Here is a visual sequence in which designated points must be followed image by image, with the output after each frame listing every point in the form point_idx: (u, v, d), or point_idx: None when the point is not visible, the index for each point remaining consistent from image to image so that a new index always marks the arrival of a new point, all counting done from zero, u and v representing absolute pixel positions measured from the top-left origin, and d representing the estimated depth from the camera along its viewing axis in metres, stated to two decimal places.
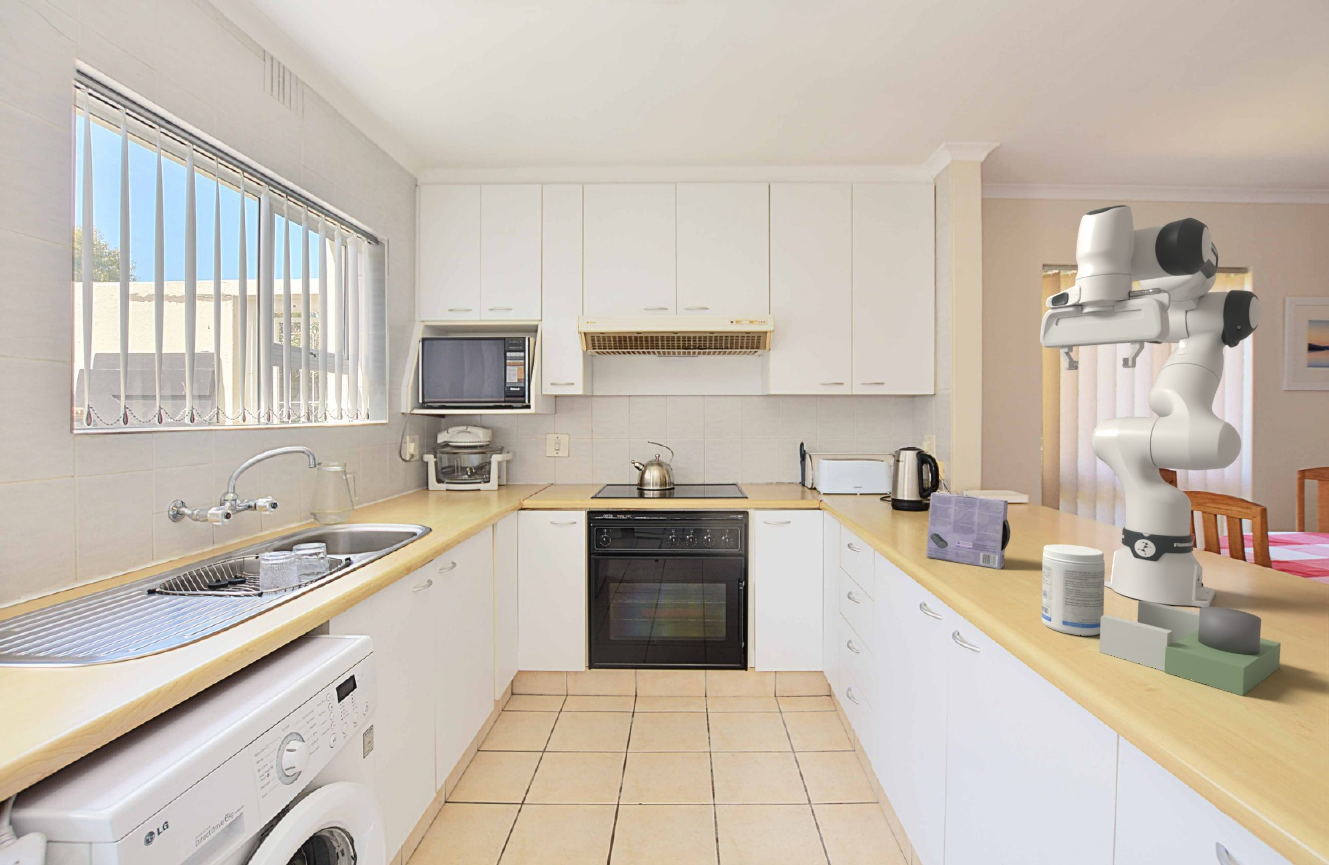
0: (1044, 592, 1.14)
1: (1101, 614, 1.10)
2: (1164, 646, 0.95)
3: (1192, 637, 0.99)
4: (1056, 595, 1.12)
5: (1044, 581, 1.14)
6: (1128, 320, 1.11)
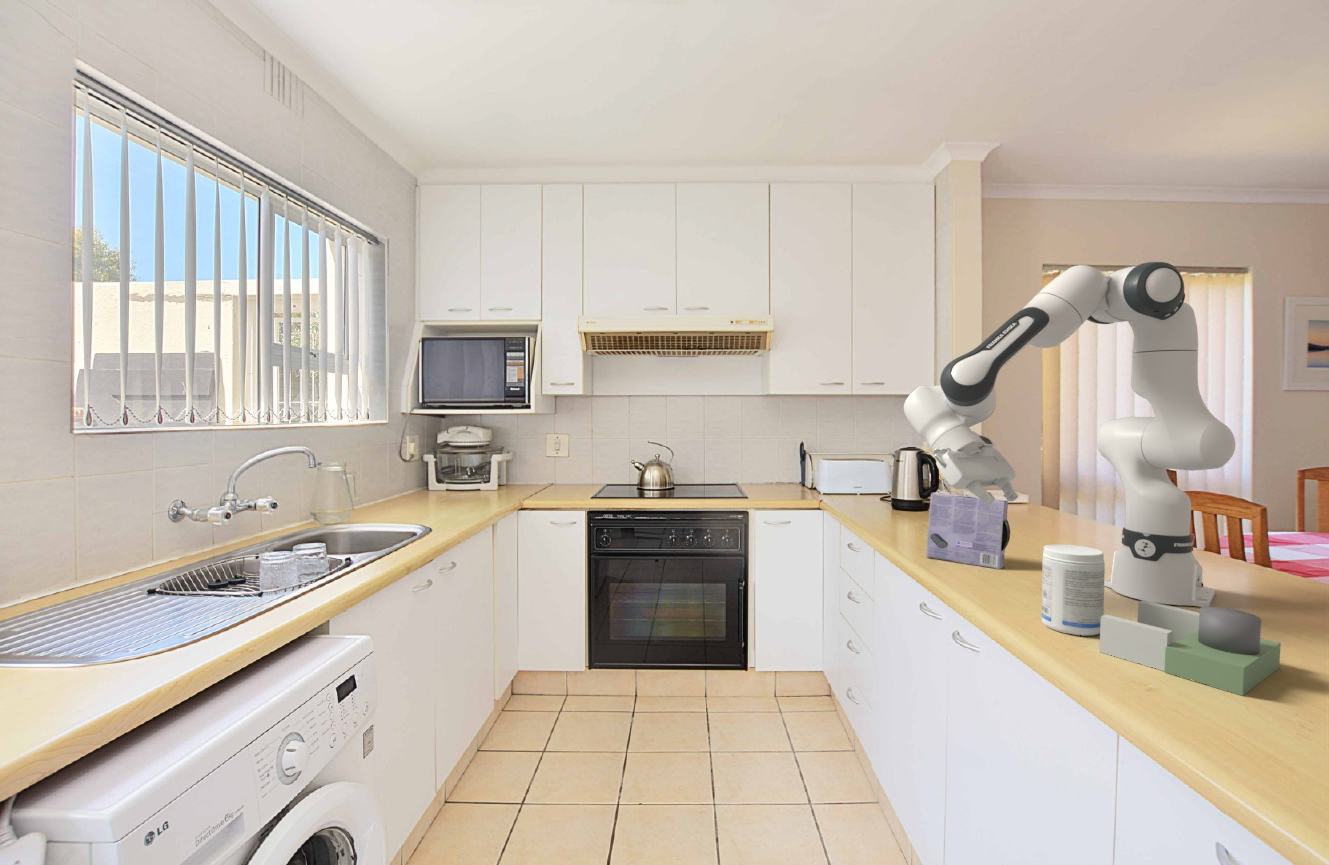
0: (1044, 592, 1.14)
1: (1101, 614, 1.10)
2: (1164, 646, 0.95)
3: (1192, 637, 0.99)
4: (1056, 595, 1.12)
5: (1044, 581, 1.14)
6: None
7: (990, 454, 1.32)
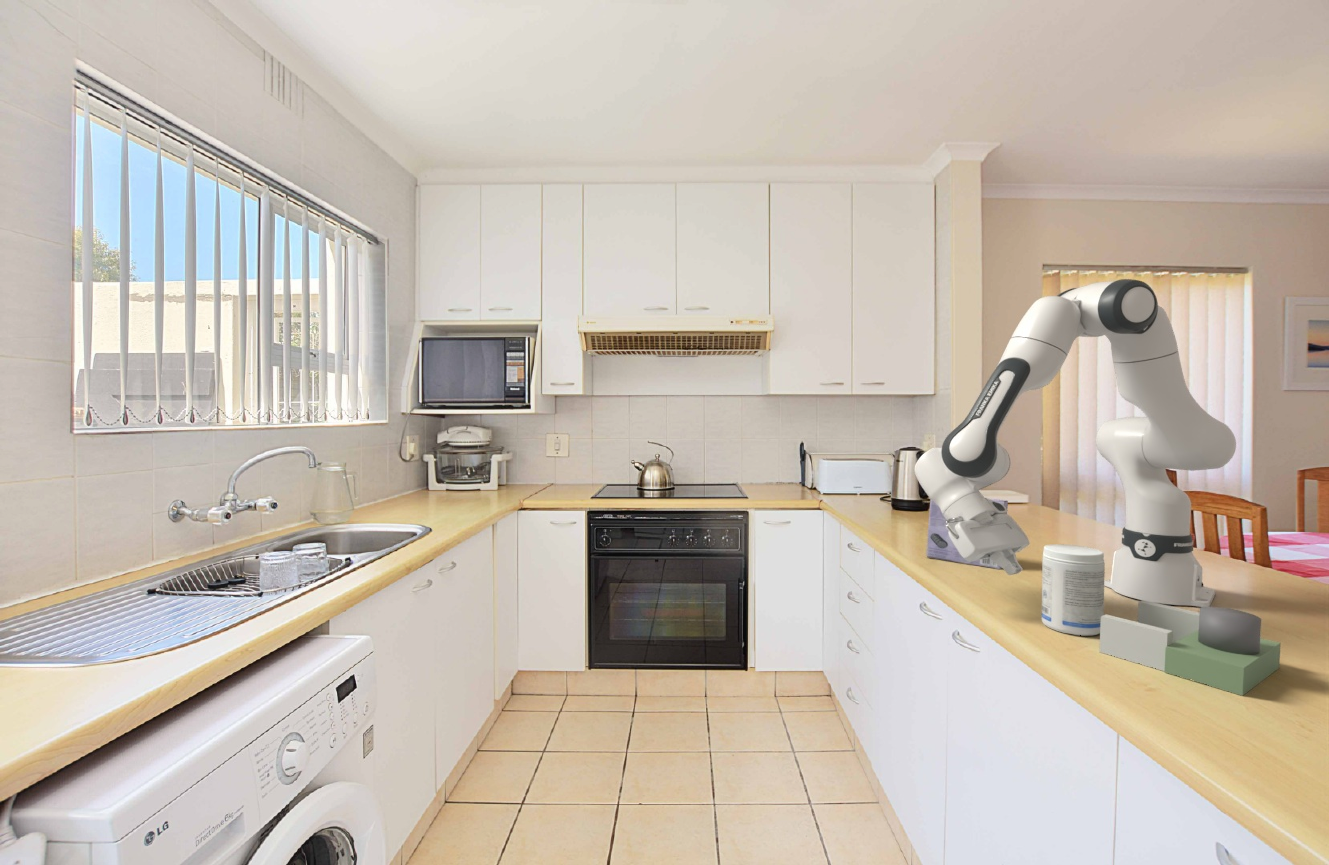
0: (1044, 592, 1.14)
1: (1101, 614, 1.10)
2: (1164, 646, 0.95)
3: (1192, 637, 0.99)
4: (1056, 595, 1.12)
5: (1044, 581, 1.14)
6: None
7: (1003, 521, 1.30)
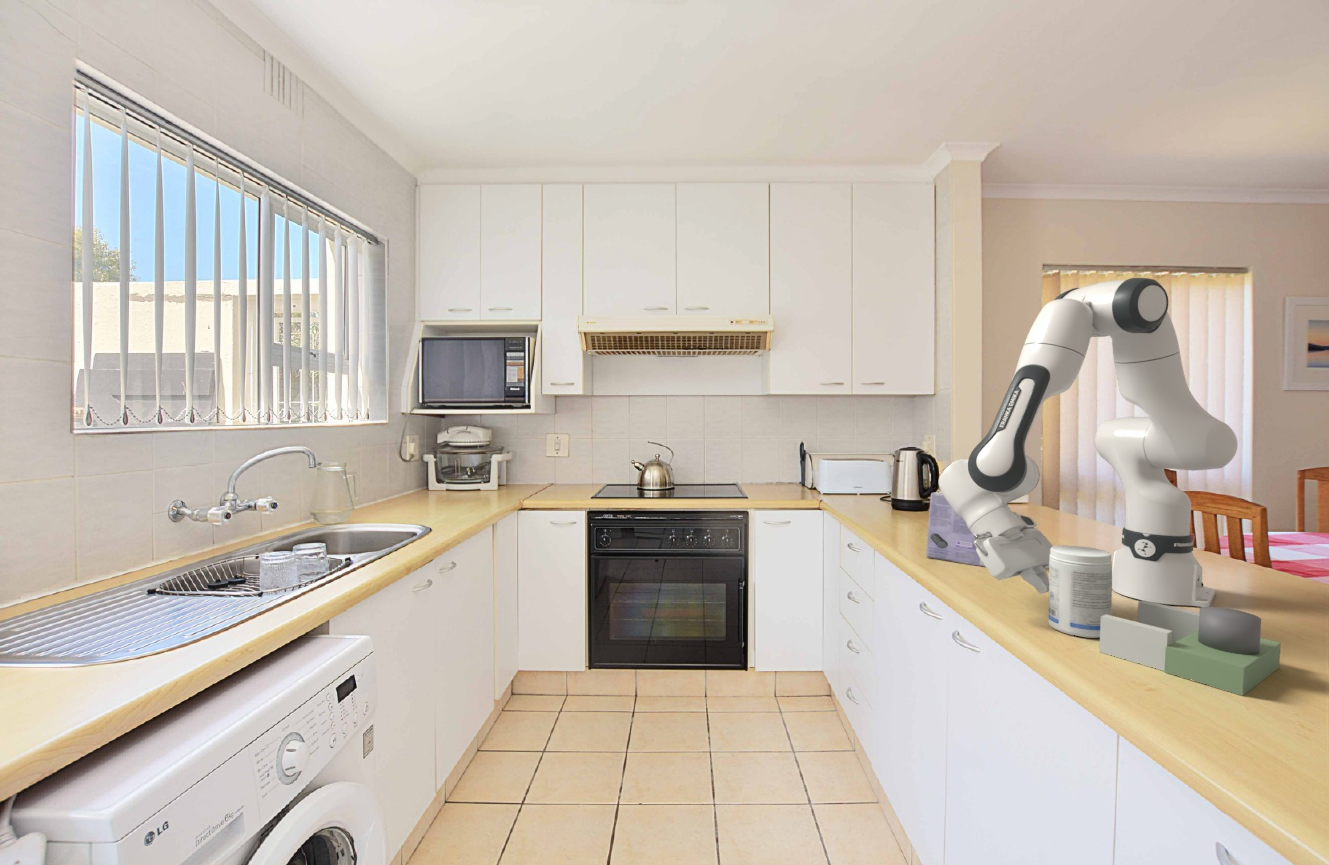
0: (1051, 594, 1.13)
1: None
2: (1164, 646, 0.95)
3: (1192, 637, 0.99)
4: (1064, 597, 1.10)
5: (1051, 583, 1.13)
6: None
7: (1032, 536, 1.25)
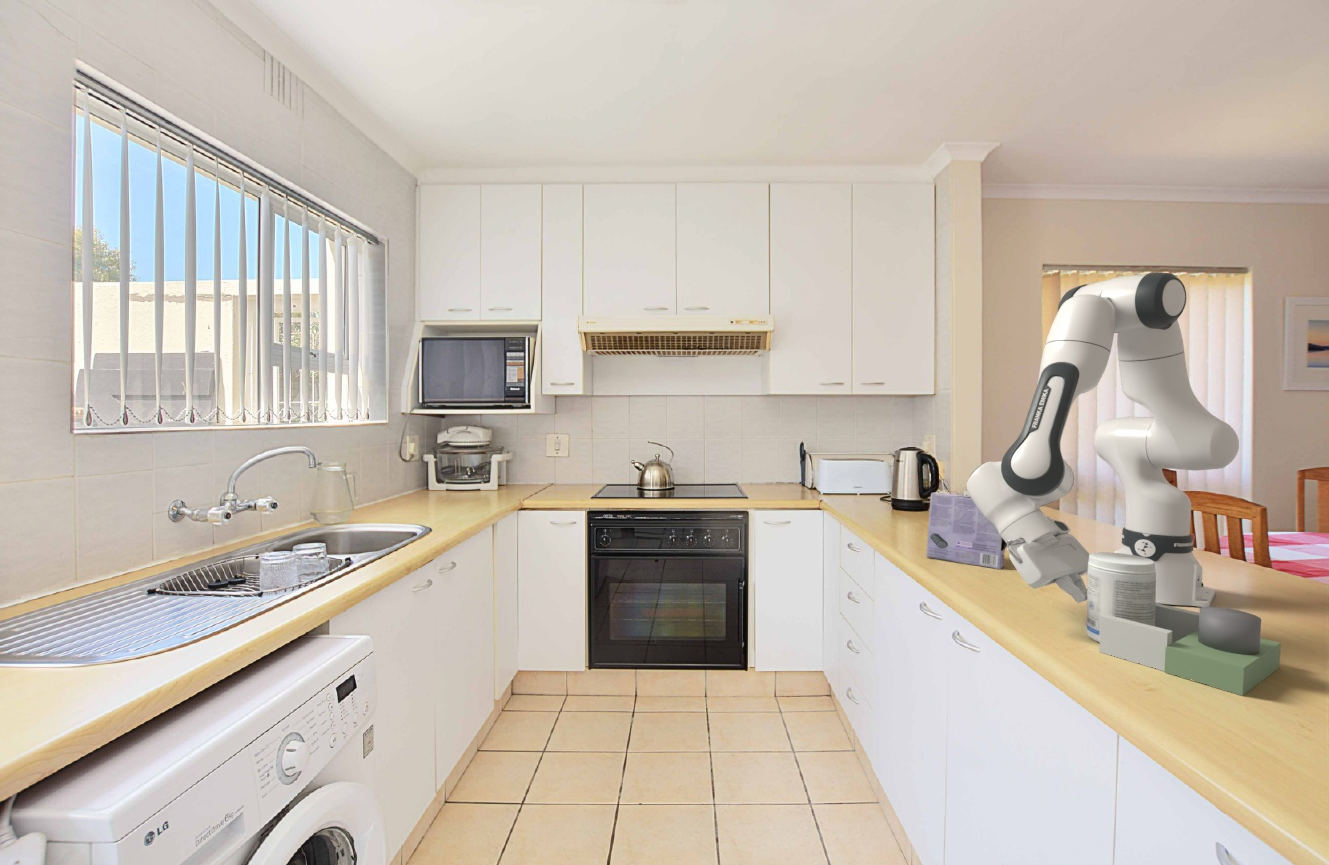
0: (1091, 603, 1.08)
1: None
2: (1164, 646, 0.95)
3: (1192, 637, 0.99)
4: (1105, 607, 1.05)
5: (1090, 592, 1.08)
6: None
7: (1066, 542, 1.20)
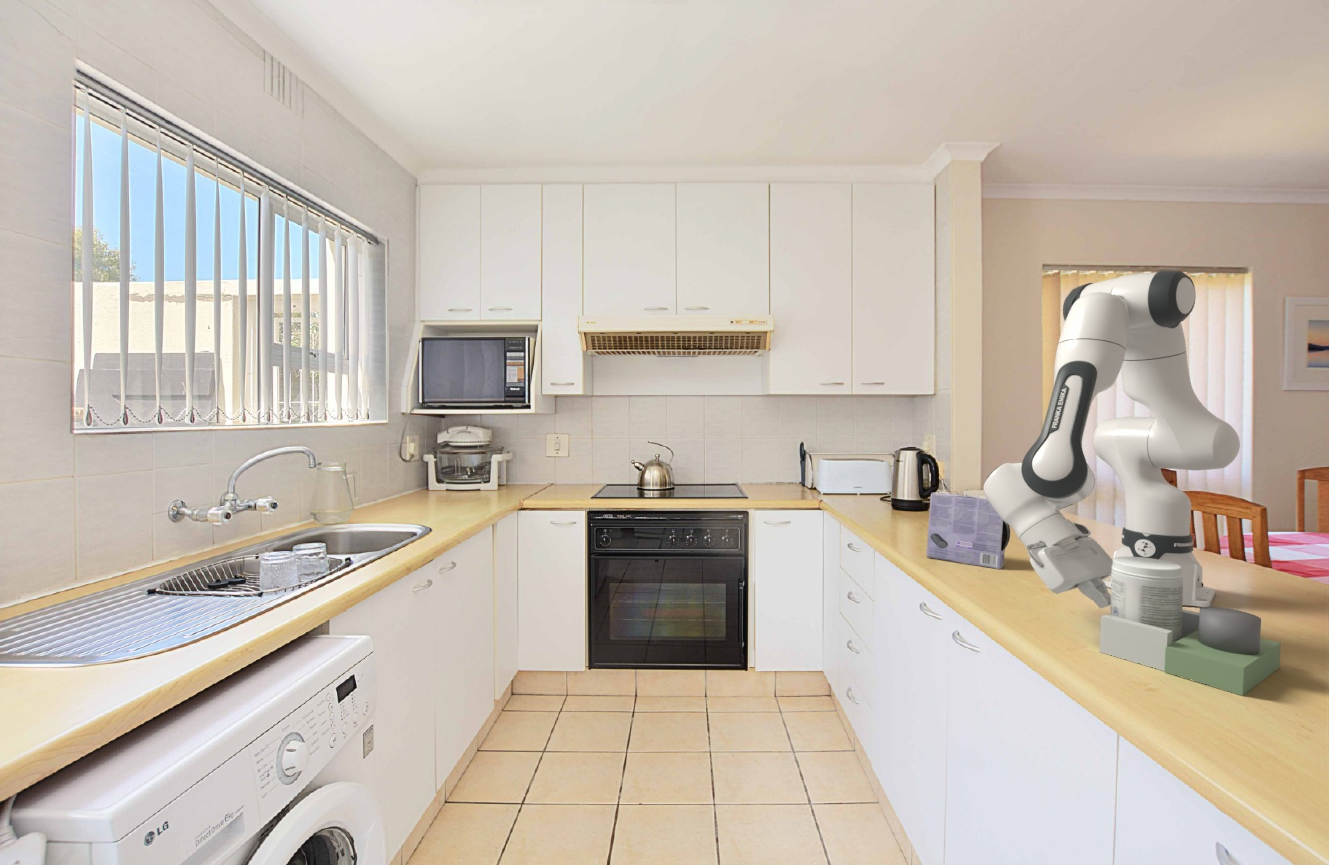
0: (1115, 609, 1.05)
1: (1180, 633, 1.01)
2: (1164, 646, 0.95)
3: (1192, 637, 0.99)
4: (1131, 613, 1.02)
5: (1115, 597, 1.05)
6: None
7: (1087, 546, 1.17)
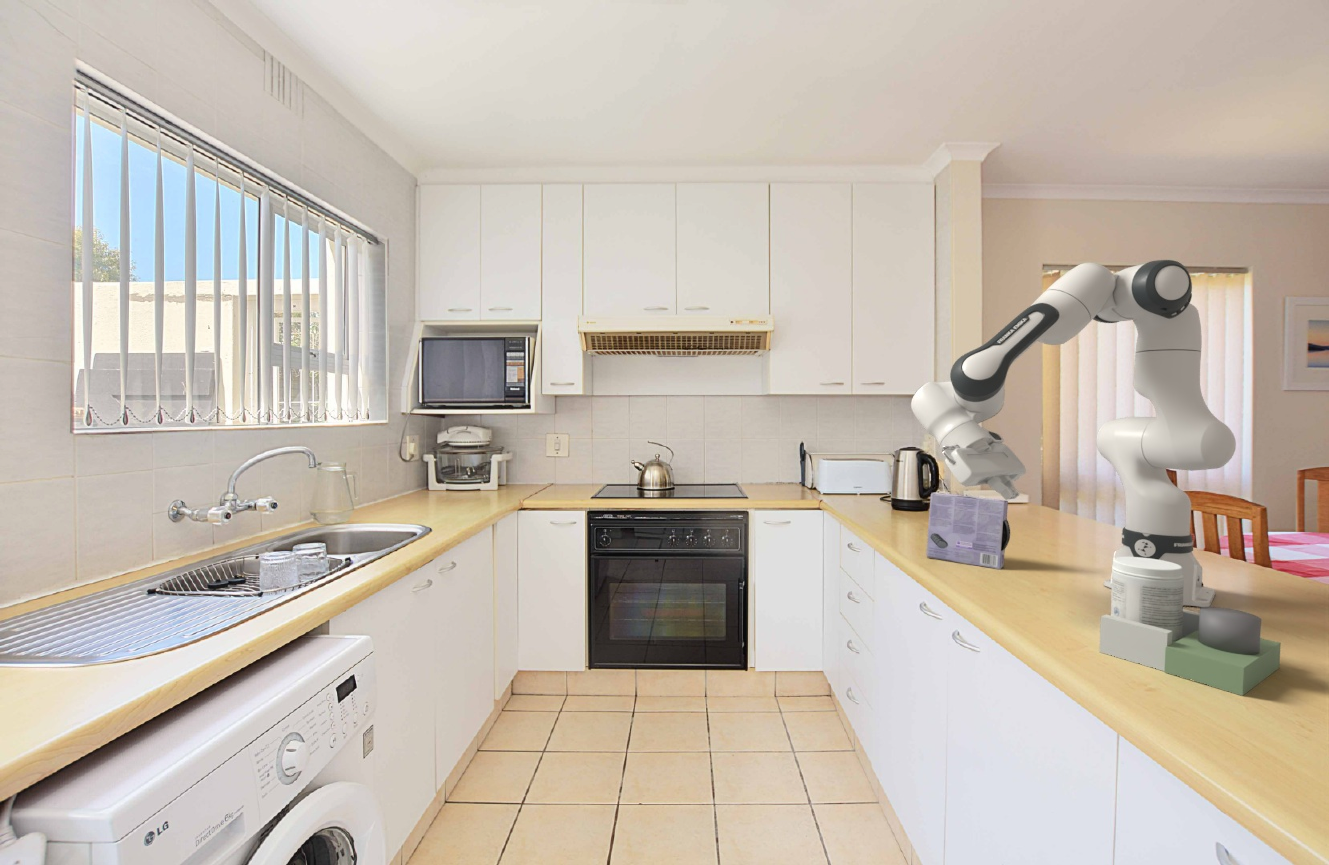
0: (1115, 610, 1.05)
1: (1181, 634, 1.01)
2: (1164, 646, 0.95)
3: (1192, 637, 0.99)
4: (1132, 613, 1.02)
5: (1115, 598, 1.05)
6: None
7: (999, 450, 1.30)
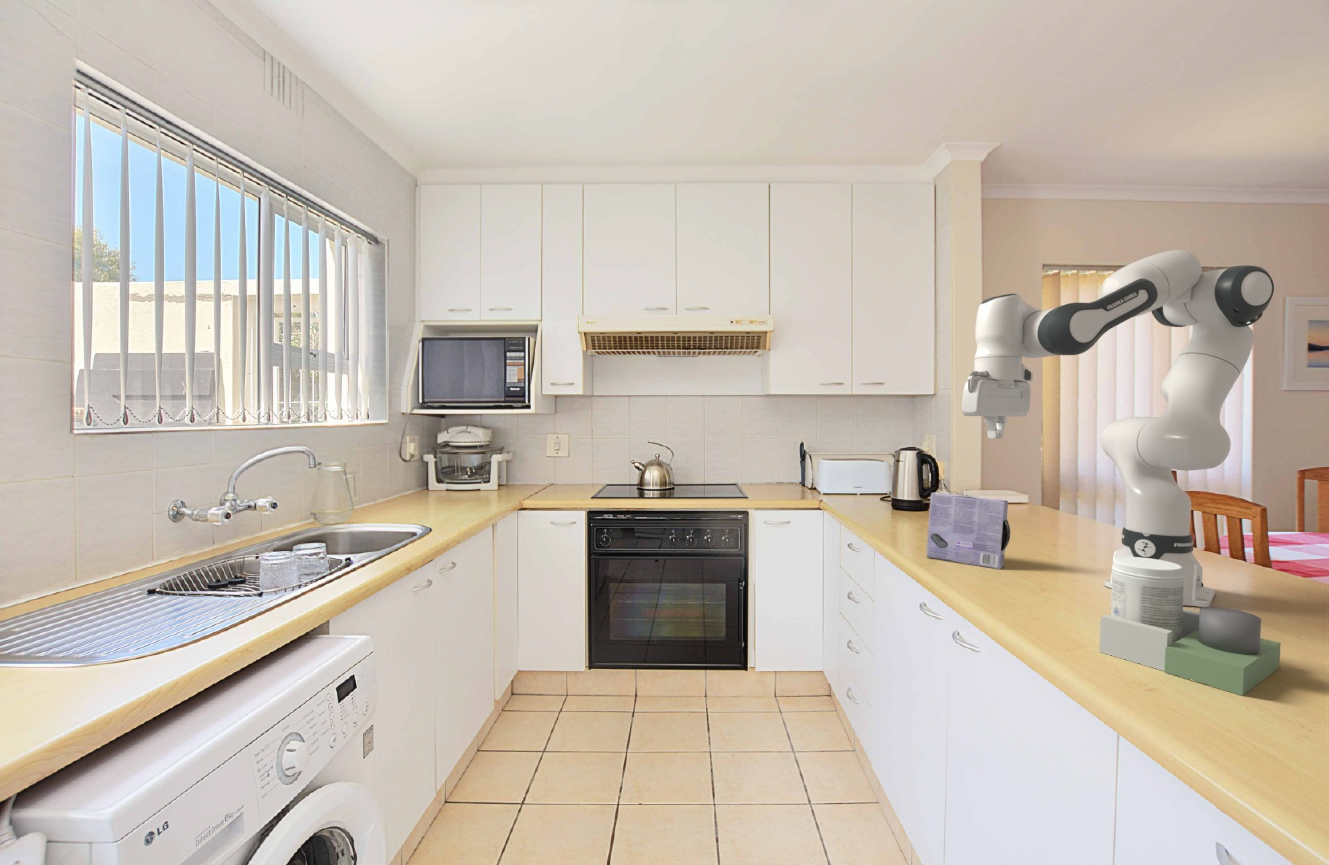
0: (1115, 610, 1.05)
1: (1181, 634, 1.01)
2: (1164, 646, 0.95)
3: (1192, 637, 0.99)
4: (1132, 613, 1.02)
5: (1115, 598, 1.05)
6: None
7: (1019, 389, 1.31)
